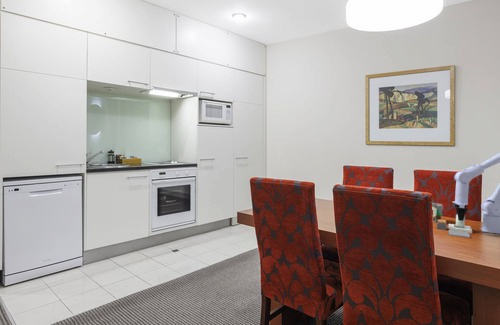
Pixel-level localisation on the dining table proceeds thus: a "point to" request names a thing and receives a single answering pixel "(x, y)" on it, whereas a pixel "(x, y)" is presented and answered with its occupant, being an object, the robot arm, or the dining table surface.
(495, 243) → the dining table surface
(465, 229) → the filter housing
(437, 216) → the food container
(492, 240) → the dining table surface
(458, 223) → the cylinder
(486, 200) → the robot arm
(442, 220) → the release plunger
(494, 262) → the dining table surface
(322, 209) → the dining table surface
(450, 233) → the mat
